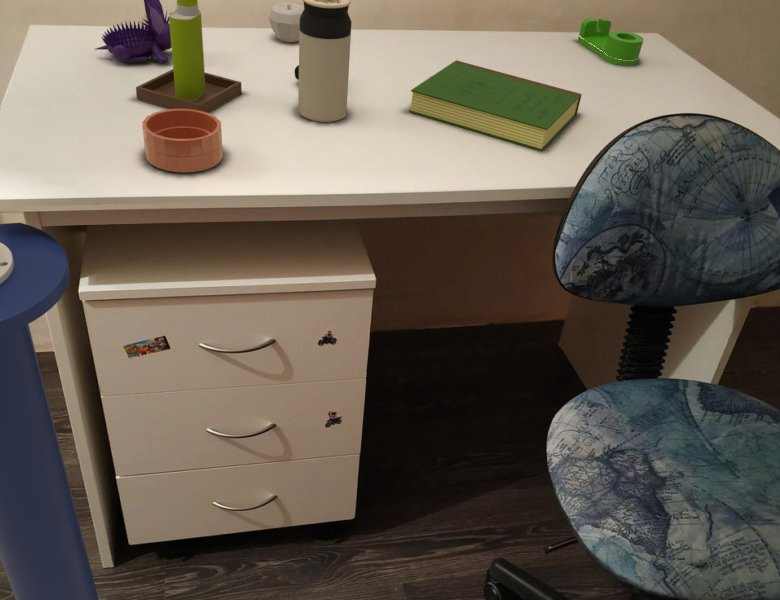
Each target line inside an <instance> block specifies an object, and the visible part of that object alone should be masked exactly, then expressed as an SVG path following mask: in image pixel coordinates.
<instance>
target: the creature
mask: <svg viewBox="0 0 780 600" xmlns="http://www.w3.org/2000/svg"><path fill="white" fill-rule="evenodd" d="M143 4H144V11H145V13H144V15H143V16H144V17H145V18H141V20H142V21H141V22H140V20H138V21H137V24H136V21H135V20H133V25H132V22H131V21H129V25H128V23H127V20H125V21H124V24H125V25H124V24H123V22H122V21H120V25H121V27H120V25H119V24H118V23H116V26H115V25H114V24H112V28H111V26H109V29H108V28H106V30H105V31H104V33H103V34H102V36H101V37H100V38H101V40H102V42H103V43H104V44H105V45H101V46H100V47H96V48H95V50H101V51H103V50H106V51H108V52H109V53H110V55H112V56H113V57H114V58H115V60H117V61H118V62H127V63H128V62H129V63H141V62H146V61H149V60H151V59H152V57H154V58H155V60H156V61H157V62H158V63H161V64H165V63H168V62H169V61H171V60H172V58H170V55H167V54H164V53H163V52H166V51H167V50H170V49H172V48H171V36H170V24H169V16H168V15H167V14H168V10H166V12H165V13H164V8H163V5H162V3H161V1H160V0H143ZM171 13H172V11H170V12H169V14H171ZM116 27H117V28H116Z"/></svg>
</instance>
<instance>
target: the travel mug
mask: <svg viewBox="0 0 780 600" xmlns="http://www.w3.org/2000/svg"><path fill="white" fill-rule="evenodd" d="M302 1H303V7H304V11H303V12H302V14H301V16H300V30H299V40H298V65H299V80H298V99H297V100H298V103H297V104H298V107H297V111H298V113H299V115H301V116H302V117H304V118H306V119H308V120H311V121H313V122H320V123H333V122H335V121H339V120H342V119H344V118H345V117H346V116H347V110H348V96H349V95H348V94H349V93H348V92H349V74H350V57H351V41H352V39H351V38H352V20H351V17H350V15H349V8H350V5H351V3H352V0H302Z"/></svg>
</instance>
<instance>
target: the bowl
mask: <svg viewBox="0 0 780 600" xmlns="http://www.w3.org/2000/svg"><path fill="white" fill-rule="evenodd" d="M141 126H142V127H141V128H142V135H143V143H144V154H145V159H146V160H147V161H148V163H149V164H150V165H152V166H154V167H156V168H157V169H160V170H163V171H168V172H173V173H194V172H195V173H197V172H202V171H206V170H209V169H212V168H214V167H215V166H217V165H218V164H220V163H221V161H222V159H223V158H224V155H223V153H224V151H223V132H222V122H221V121H220V119H218V117H217V116H215V115H213V114H211V113H210V112H209V113H206V112H203V111H199V110H193V109H169V108H168V109H162V110H159V111H155V112H152V113H151V114H149V115H147V116H146V117H145V118H144V119H143V121H142V125H141Z"/></svg>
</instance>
